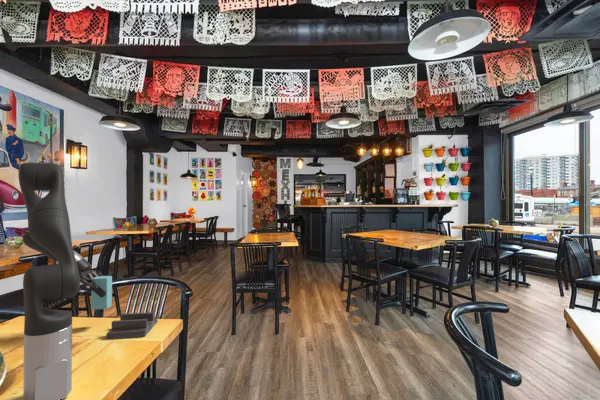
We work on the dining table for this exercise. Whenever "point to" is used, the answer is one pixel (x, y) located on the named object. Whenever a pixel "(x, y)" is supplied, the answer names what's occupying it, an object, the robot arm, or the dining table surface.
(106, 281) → the teal book
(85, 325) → the dining table surface
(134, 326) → the book stand
